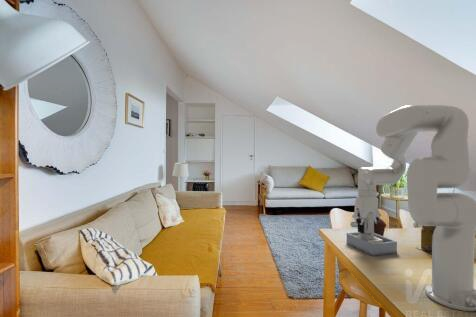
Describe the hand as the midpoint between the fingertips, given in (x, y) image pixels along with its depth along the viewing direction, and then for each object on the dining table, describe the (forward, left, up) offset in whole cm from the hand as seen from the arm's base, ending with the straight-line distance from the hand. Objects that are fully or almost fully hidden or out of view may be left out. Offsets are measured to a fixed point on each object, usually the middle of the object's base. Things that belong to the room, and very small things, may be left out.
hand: (366, 231), depth 118 cm
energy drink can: (0, 0, -5) cm, 5 cm away
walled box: (-2, 0, -7) cm, 7 cm away
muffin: (+11, -15, -7) cm, 19 cm away
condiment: (-12, -24, -7) cm, 27 cm away
